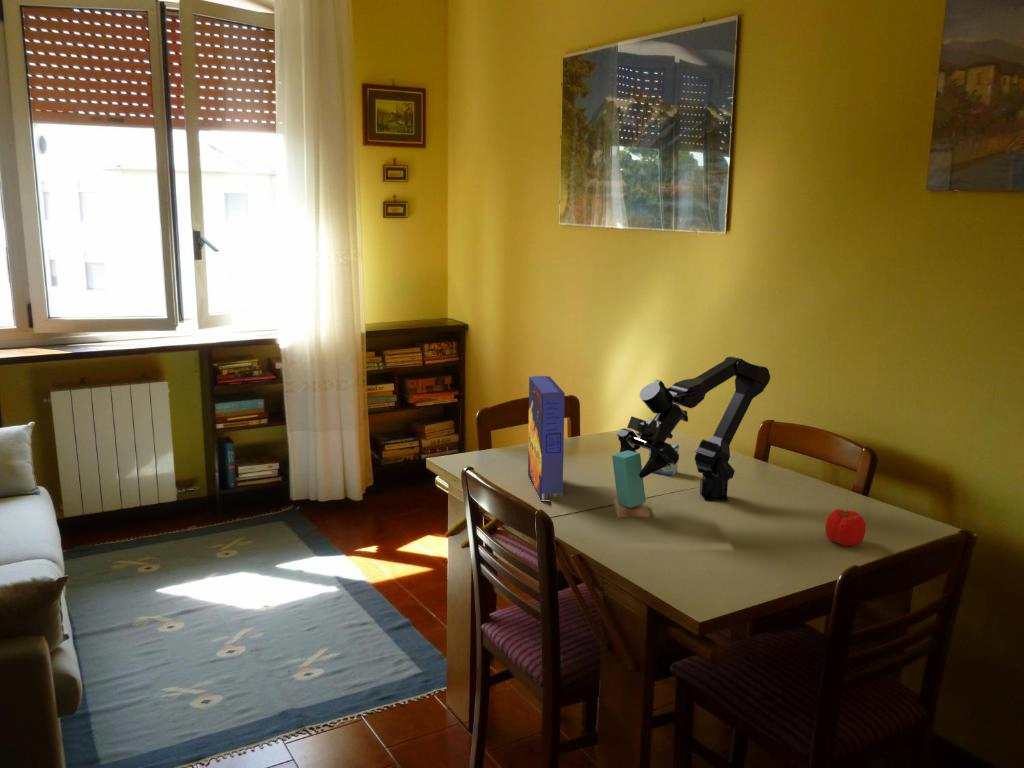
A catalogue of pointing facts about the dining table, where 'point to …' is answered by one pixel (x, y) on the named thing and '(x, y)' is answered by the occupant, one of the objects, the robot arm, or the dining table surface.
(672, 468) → the medicine box
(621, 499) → the pillar
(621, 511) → the top slab
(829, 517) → the tomato
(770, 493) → the dining table surface
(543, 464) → the cereal box
